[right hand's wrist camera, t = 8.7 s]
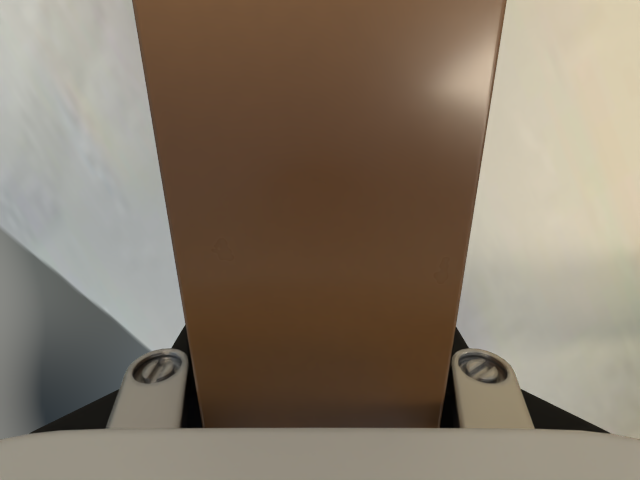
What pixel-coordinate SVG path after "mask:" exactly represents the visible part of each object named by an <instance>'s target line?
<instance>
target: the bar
mask: <svg viewBox="0 0 640 480" xmlns="http://www.w3.org/2000/svg"><path fill="white" fill-rule="evenodd" d="M506 1H507V0H132V2H133V8H134V14H135V20H136V26H137V32H138V38H139V44H140V51H141V57H142V63H143V69H144V75H145V81H146V87H147V93H148V99H149V105H150V111H151V117H152V123H153V130H154V136H155V142H156V148H157V154H158V160H159V166H160V172H161V178H162V184H163V190H164V196H165V202H166V208H167V215H168V221H169V227H170V233H171V239H172V245H173V251H174V257H175V263H176V269H177V275H178V281H179V287H180V293H181V300H182V306H183V312H184V318H185V324H186V330H187V336H188V342H189V348H190V354H191V360H192V366H193V372H194V379H195V385H196V391H197V397H198V403H199V409H200V415H201V421H202V427H203V428H440V423H441V417H442V411H443V404H444V398H445V391H446V385H447V379H448V372H449V366H450V359H451V353H452V347H453V340H454V334H455V327H456V321H457V315H458V308H459V302H460V295H461V289H462V283H463V276H464V270H465V263H466V257H467V251H468V244H469V238H470V231H471V225H472V219H473V212H474V206H475V199H476V193H477V187H478V180H479V174H480V167H481V161H482V155H483V148H484V142H485V135H486V129H487V123H488V116H489V110H490V103H491V97H492V91H493V84H494V78H495V71H496V65H497V59H498V52H499V46H500V39H501V33H502V27H503V20H504V14H505V7H506Z"/></svg>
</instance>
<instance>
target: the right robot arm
mask: <svg viewBox="0 0 640 480" xmlns="http://www.w3.org/2000/svg"><path fill="white" fill-rule="evenodd" d="M0 480H640V439H635V438H630V437H625V436H619V435H614V434H611V433H609V432H607V431H605V430H603V429H601V428H599V427H597V426H595V425H593V424H591V423H589V422H587V421H585V420H583V419H581V418H579V417H577V416H575V415H573V414H571V413H569V412H566V411H564V410H562V409H560V408H558V407H556V406H554V405H552V404H550V403H548V402H546V401H544V400H542V399H540V398H538V397H536V396H534V395H532V394H530V393H528V392H526V391H524V390H522V389H520V386H519V384H518V381H517V378H516V375H515V372H514V371H513V369H512V367H511V366H510V365H509V364H508V363H507V362H506V361H505V360H504V359H502V358H501V357H499V356H498V355H496V354H493V353H491V352H488V351H485V350H481V349H472V348H468V346H467V344H466V343H465V341H464V339H463V338H462V336H461V334H460V333H459V331H458V329H457V328H456V327H455V334H454V340H453V347H452V353H451V359H450V366H449V372H448V379H447V385H446V391H445V398H444V404H443V411H442V417H441V423H440V428H203V427H202V421H201V415H200V409H199V403H198V397H197V391H196V385H195V379H194V372H193V366H192V360H191V354H190V348H189V342H188V336H187V330H186V325H185V326H184V328H183V330H182V331H181V333H180V335H179V336H178V338H177V340H176V341H175V343H174V345H173V346H172V348H168V349H159V350H155V351H152V352H149V353H147V354H144V355H142V356H141V357H139V358H138V359H136V360H135V361H134V362H133V363H132V364H131V365H130V366H129V367H128V369H127V371H126V372H125V375H124V378H123V381H122V384H121V386H120V389H119V390H117V391H114V392H113V393H110V394H108V395H106V396H104V397H102V398H100V399H98V400H96V401H94V402H92V403H90V404H88V405H86V406H84V407H82V408H80V409H78V410H76V411H74V412H72V413H70V414H68V415H66V416H64V417H61V418H59V419H57V420H55V421H53V422H51V423H49V424H47V425H45V426H43V427H41V428H39V429H37V430H35V431H33V432H31V433H29V434H26V435H21V436H15V437H10V438H5V439H0Z"/></svg>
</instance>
